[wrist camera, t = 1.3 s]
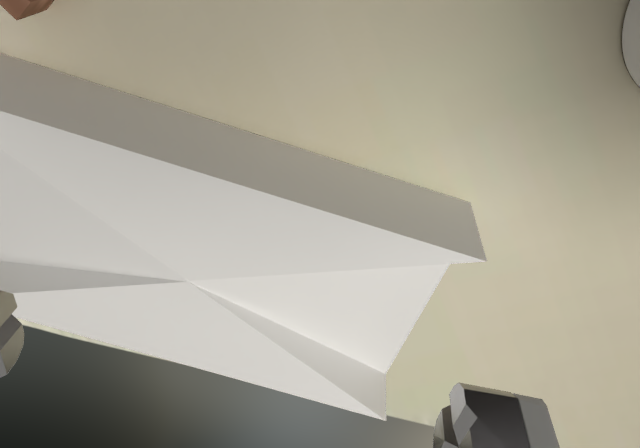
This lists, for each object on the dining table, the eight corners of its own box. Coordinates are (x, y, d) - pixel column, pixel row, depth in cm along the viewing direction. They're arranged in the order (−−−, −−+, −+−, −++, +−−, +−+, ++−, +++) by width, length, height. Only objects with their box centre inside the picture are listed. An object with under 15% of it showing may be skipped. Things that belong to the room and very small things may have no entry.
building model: (6, 240, 56) (-56, 297, 48) (-11, 46, 43) (-98, 81, 36) (385, 350, 59) (386, 420, 51) (469, 199, 47) (487, 262, 39)
